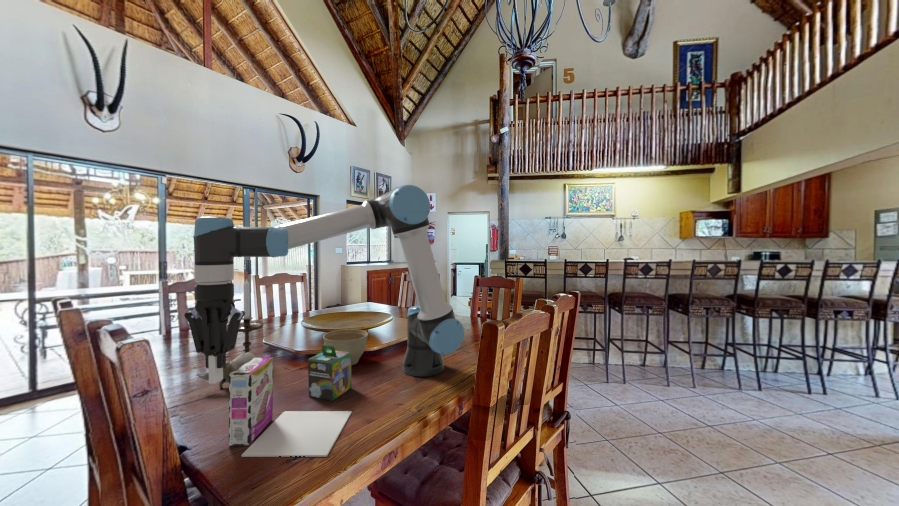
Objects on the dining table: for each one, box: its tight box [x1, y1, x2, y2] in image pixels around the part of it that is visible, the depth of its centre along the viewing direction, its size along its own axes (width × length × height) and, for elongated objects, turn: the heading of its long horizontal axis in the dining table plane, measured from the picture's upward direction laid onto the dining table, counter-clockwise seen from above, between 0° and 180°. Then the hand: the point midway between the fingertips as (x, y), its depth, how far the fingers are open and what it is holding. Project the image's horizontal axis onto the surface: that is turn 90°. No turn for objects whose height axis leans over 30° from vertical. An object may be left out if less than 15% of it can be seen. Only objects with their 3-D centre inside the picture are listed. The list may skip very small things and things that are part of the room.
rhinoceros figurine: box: [196, 351, 257, 390], centre depth 103 cm, size 8×14×15 cm
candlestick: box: [238, 270, 264, 358], centre depth 122 cm, size 11×11×35 cm
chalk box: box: [307, 344, 353, 402], centre depth 98 cm, size 9×9×15 cm
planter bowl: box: [322, 328, 369, 366], centre depth 123 cm, size 16×16×11 cm
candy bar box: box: [228, 356, 274, 447], centre depth 77 cm, size 11×5×16 cm, turn 5°
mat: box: [241, 410, 353, 458], centre depth 77 cm, size 18×18×1 cm
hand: (216, 381), depth 77 cm, fingers closed
